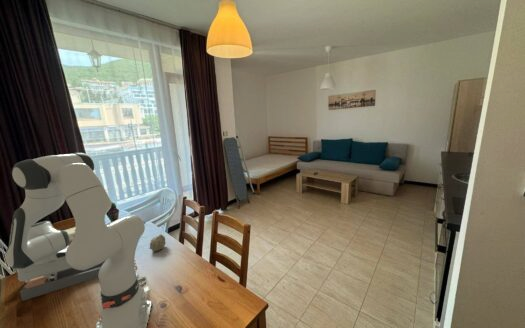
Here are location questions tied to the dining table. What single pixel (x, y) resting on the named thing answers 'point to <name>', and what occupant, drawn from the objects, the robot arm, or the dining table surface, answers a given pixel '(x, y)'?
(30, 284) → the terracotta block
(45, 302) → the dining table surface
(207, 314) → the dining table surface
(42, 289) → the charcoal chute
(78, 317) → the dining table surface
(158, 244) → the beige rough lump
